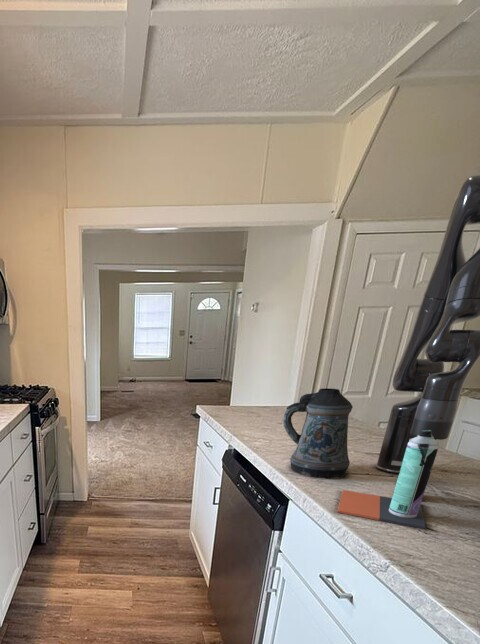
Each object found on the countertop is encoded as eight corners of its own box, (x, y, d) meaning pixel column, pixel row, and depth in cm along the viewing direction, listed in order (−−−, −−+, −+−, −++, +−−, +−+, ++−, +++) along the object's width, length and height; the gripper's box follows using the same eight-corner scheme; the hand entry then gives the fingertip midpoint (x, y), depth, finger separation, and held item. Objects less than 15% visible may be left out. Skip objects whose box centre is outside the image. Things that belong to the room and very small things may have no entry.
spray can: (421, 518, 92) (449, 433, 85) (395, 517, 93) (419, 432, 86) (409, 509, 97) (434, 427, 90) (384, 507, 98) (407, 427, 91)
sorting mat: (342, 491, 110) (343, 489, 110) (419, 504, 101) (420, 502, 101) (337, 512, 98) (337, 510, 97) (424, 529, 89) (425, 526, 89)
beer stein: (358, 478, 119) (380, 393, 110) (293, 479, 120) (308, 394, 110) (329, 462, 135) (346, 385, 125) (271, 462, 135) (283, 386, 125)
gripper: (458, 424, 90) (436, 491, 96) (449, 414, 102) (430, 475, 107) (416, 420, 94) (398, 485, 100) (412, 412, 105) (396, 471, 111)
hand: (415, 480), depth 104 cm, fingers open, 8 cm apart
